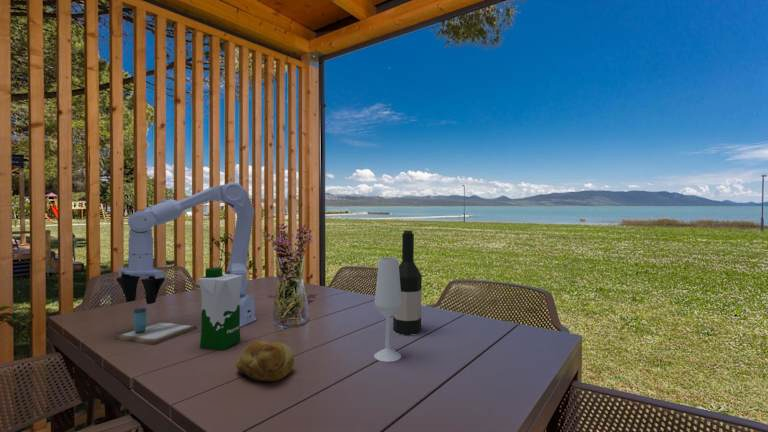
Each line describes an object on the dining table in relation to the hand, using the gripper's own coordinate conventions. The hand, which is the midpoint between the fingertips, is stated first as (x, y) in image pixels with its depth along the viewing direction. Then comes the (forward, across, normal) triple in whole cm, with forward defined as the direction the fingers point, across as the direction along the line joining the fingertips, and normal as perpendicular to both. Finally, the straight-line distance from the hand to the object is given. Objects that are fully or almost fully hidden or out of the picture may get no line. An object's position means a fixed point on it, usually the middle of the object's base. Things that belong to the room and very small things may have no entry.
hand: (140, 302), depth 101 cm
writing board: (+9, +3, +3) cm, 10 cm away
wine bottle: (+10, +70, +29) cm, 76 cm away
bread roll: (+10, +48, -9) cm, 49 cm away
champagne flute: (+10, +70, +9) cm, 71 cm away
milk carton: (+10, +26, +2) cm, 28 cm away
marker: (+8, 0, 0) cm, 8 cm away
